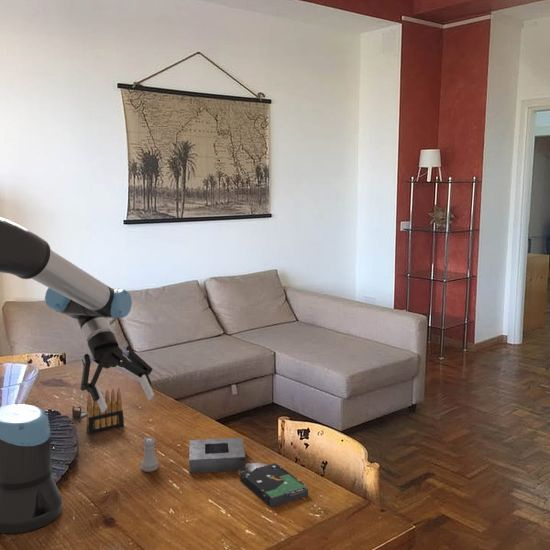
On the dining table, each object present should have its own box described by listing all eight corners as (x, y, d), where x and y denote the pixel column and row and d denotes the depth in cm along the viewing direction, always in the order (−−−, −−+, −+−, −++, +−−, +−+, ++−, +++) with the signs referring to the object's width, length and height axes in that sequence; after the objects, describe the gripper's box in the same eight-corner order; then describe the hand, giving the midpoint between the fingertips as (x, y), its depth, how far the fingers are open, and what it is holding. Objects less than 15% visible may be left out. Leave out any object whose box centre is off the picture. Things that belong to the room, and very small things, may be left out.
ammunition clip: (121, 424, 181) (120, 386, 179) (124, 426, 179) (122, 387, 177) (86, 432, 174) (84, 393, 173) (88, 434, 173) (86, 394, 171)
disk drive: (239, 483, 146) (271, 509, 133) (239, 472, 145) (271, 497, 133) (275, 472, 151) (309, 497, 138) (275, 462, 151) (309, 485, 138)
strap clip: (80, 414, 190) (80, 401, 189) (89, 414, 189) (88, 401, 189) (65, 424, 182) (64, 410, 181) (74, 425, 181) (73, 411, 180)
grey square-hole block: (245, 470, 151) (245, 456, 151) (189, 473, 149) (189, 460, 149) (242, 449, 163) (242, 437, 162) (190, 452, 161) (189, 440, 161)
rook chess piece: (160, 464, 154) (159, 434, 153) (157, 472, 150) (156, 441, 149) (142, 464, 154) (141, 434, 153) (139, 472, 150) (138, 442, 149)
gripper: (135, 337, 177) (164, 399, 168) (52, 353, 161) (79, 422, 152) (144, 323, 173) (174, 386, 164) (59, 337, 156) (87, 408, 147)
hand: (128, 403), depth 158 cm, fingers open, 13 cm apart
